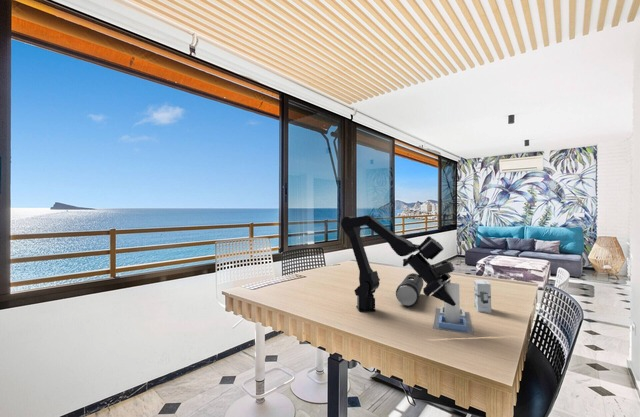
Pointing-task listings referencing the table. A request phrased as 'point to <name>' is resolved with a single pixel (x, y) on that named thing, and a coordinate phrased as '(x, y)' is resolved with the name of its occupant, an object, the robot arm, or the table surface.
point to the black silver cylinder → (409, 290)
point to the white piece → (451, 311)
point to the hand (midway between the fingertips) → (456, 303)
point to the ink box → (482, 296)
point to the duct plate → (460, 327)
